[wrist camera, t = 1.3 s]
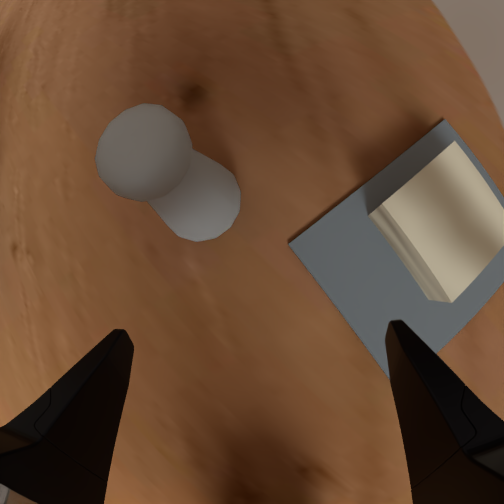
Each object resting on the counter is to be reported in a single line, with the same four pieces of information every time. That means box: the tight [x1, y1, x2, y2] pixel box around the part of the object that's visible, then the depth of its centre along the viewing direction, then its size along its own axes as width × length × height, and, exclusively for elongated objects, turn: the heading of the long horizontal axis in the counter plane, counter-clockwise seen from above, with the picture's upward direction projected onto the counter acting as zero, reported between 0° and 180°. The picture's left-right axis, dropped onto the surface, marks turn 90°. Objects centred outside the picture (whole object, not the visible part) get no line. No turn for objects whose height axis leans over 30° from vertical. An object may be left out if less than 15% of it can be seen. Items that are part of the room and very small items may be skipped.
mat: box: [288, 119, 504, 379], centre depth 22 cm, size 18×14×1 cm
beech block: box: [368, 141, 504, 303], centre depth 20 cm, size 8×8×4 cm
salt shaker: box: [95, 103, 241, 242], centre depth 18 cm, size 6×6×13 cm
